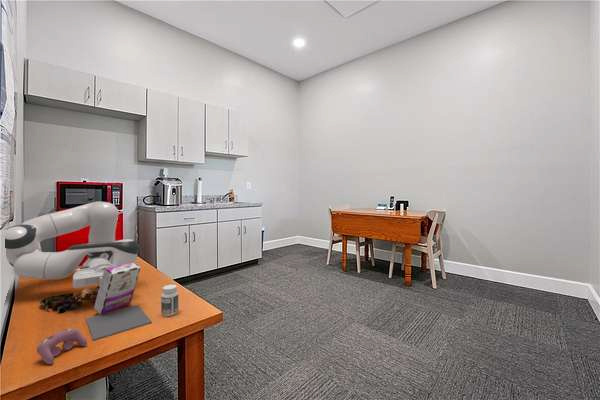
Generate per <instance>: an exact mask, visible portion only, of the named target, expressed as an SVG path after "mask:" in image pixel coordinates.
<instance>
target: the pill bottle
mask: <svg viewBox="0 0 600 400" xmlns="http://www.w3.org/2000/svg"><path fill="white" fill-rule="evenodd" d="M177 286H178V285H176V284H167V285H164V286H163V287H162V293H161V295H160V303H161V309H160V313H161V315H162V316H164V317H169V316H171V317H172V316H174V315H176V314H178V312H179V292H178V290H177V289H178V287H177Z"/></svg>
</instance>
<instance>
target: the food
mask: <svg viewBox="0 0 600 400" xmlns="http://www.w3.org/2000/svg"><path fill="white" fill-rule="evenodd" d="M99 288H100V285H96V286H93V287H87V288H85V289H83V290H82V291H81V292H79V293H76V294H74V293H73V292H71V293H70V292H69V293H63V294H59V295H51V296H49V297H45V298H44V299H41V300H40V301H39V304H41V305H42V306H45V310H44V311H45V312H46V313H50V311H49V309H51V311H52V312H56V313H57V314H64V313H66V312H67V311H75V310H77V309H78V308H80V307H81V306H82V305H85V306H88V305H87V303H84V302H83V301H87V300H92V305H95V302H96V298H97V295H98V291H99Z"/></svg>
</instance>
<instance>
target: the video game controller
mask: <svg viewBox="0 0 600 400" xmlns="http://www.w3.org/2000/svg"><path fill="white" fill-rule="evenodd" d="M74 342H75V343H77V344H78V345H79V346H81V347H87V346H88V340H87V338H86V337H85V335H83V334H82V333H81V331H80V330H79V329H76V328H74V327H73V328H68V329H63V330H60V331H58V332H56V333H53V334H52V335H49V336H48V337H46V338H45V339H44V340H42V341H41V342H40V343H39V344H38V345H37V347H36V352H37V354H38V355H39V356H40V357H41V360H43V362H44V363H45V364H47V365H50V366H51V365H53V364H54V362H55V357H57V356H58V355H60V353H61V351H62V350H63V351H69V350H71V349H72V348H73V346H74ZM60 343H62V345H61V347H59V346H58V345H59V344H60Z"/></svg>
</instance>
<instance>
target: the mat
mask: <svg viewBox="0 0 600 400" xmlns="http://www.w3.org/2000/svg"><path fill="white" fill-rule="evenodd" d="M148 316H149V315H147V314H146V313H145V311H144V310H143V309H142V307H140V306H139V304H138V305H133V306H130V307H126V308H122V309H121V308H120V309H116V310H113V311H110V312H108V313H105V314H102V315H101V314H98V315H93V316H90V317H86V318H85V321H86V324H87V327H88V329H89V333H90V336H91V337H92V341H97V340H101V339H104V338H106V337H110V336H114V335H117V334H119V333H120V334H121V333H123V332H126V331H130V330H133V329H137V328H140V327H143V326H147V325H150V324H152V323H153V321H152V319H150V318H149V317H148Z"/></svg>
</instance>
